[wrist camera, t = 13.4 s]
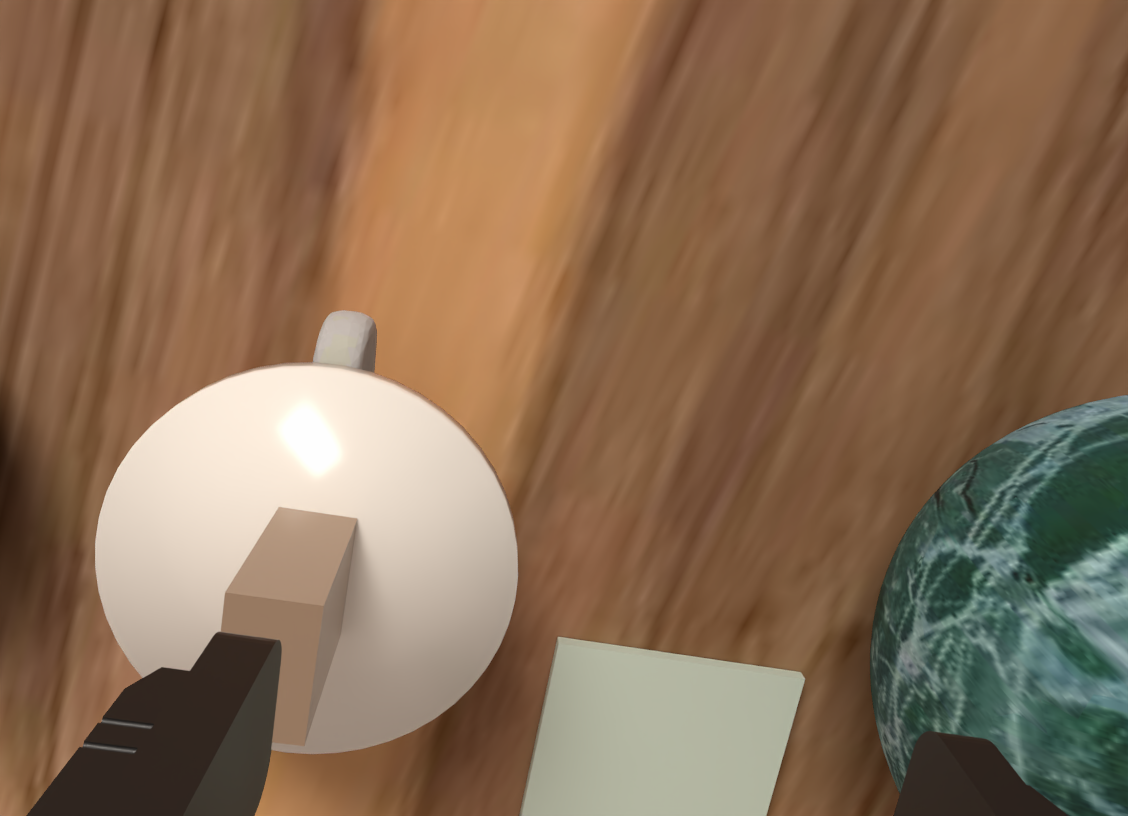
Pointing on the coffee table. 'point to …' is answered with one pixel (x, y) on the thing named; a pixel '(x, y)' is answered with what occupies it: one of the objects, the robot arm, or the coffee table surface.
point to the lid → (314, 547)
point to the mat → (657, 734)
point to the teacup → (347, 340)
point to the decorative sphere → (1018, 611)
